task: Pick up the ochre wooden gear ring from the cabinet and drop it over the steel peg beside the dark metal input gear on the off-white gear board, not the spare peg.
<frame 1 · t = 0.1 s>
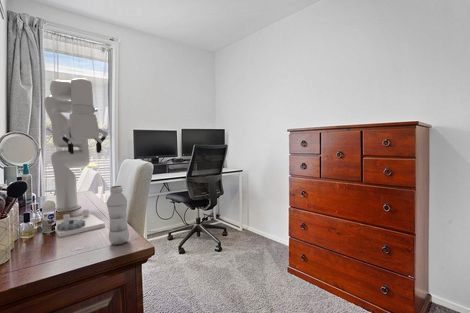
hand: (85, 153, 104), 31 cm above the cabinet, tool pointing down, fingers open, 9 cm apart
ochre gear: (62, 220, 119), on the cabinet
gear board: (77, 225, 110), on the cabinet
plastic bottle: (119, 243, 90), on the cabinet
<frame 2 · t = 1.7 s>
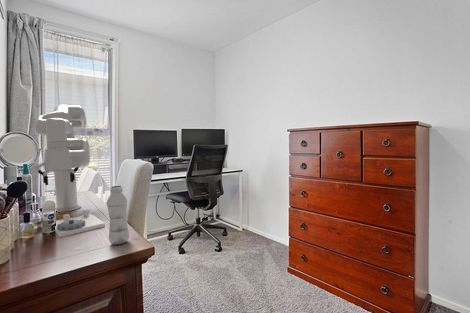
hand: (59, 183, 117), 17 cm above the cabinet, tool pointing down, fingers open, 9 cm apart
nothing on the cabinet moved.
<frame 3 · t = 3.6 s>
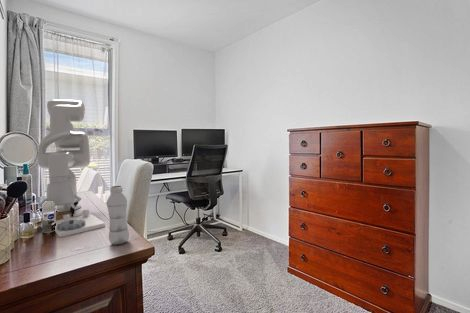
hand: (62, 217, 119), 1 cm above the cabinet, tool pointing down, fingers closed on ochre gear, 7 cm apart
ochre gear: (62, 220, 119), on the cabinet, touching gripper
everything else where it was.
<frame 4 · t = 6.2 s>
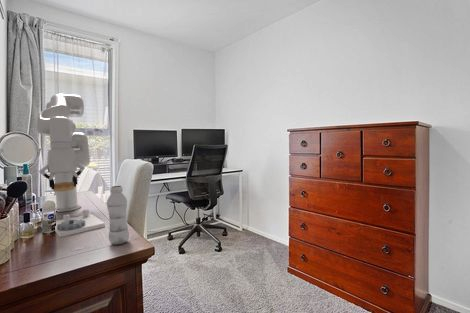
hand: (63, 187, 110), 16 cm above the cabinet, tool pointing down, fingers closed on ochre gear, 7 cm apart
ochre gear: (64, 189, 110), point 15 cm above the cabinet, touching gripper
everything else where it was.
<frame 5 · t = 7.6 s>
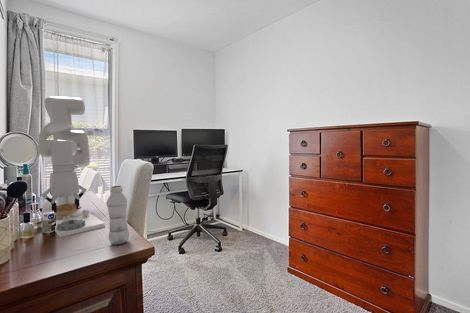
hand: (66, 209, 110), 7 cm above the cabinet, tool pointing down, fingers closed on ochre gear, 7 cm apart
ochre gear: (66, 212, 110), point 6 cm above the cabinet, touching gripper
everything else where it was.
when the fingers open (4 cm above the cabinet, at t = 8.7 s): ochre gear drops 1 cm, resting on gear board.
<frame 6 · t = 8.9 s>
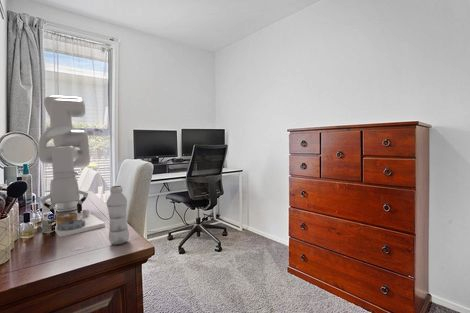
hand: (66, 215, 110), 4 cm above the cabinet, tool pointing down, fingers open, 9 cm apart
ochre gear: (67, 222, 111), point 1 cm above the cabinet, touching gear board
everything else where it was.
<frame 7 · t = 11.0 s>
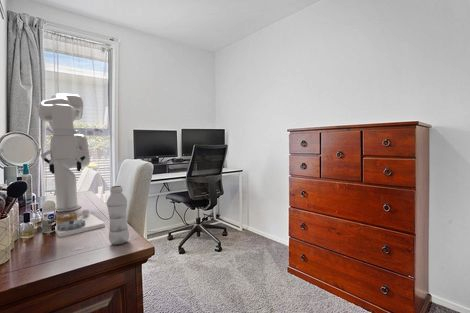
hand: (66, 172, 114), 23 cm above the cabinet, tool pointing down, fingers open, 9 cm apart
nothing on the cabinet moved.
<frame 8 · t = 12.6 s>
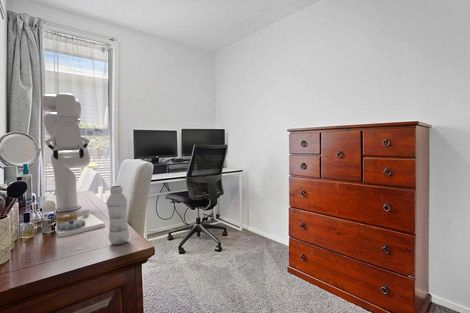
hand: (69, 158, 118), 28 cm above the cabinet, tool pointing down, fingers open, 9 cm apart
nothing on the cabinet moved.
at the end: ochre gear 0.0 cm from the target spot on the gear board, point 1.5 cm above the gear board's base; the gripper is holding nothing; ochre gear tilted 0° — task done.
